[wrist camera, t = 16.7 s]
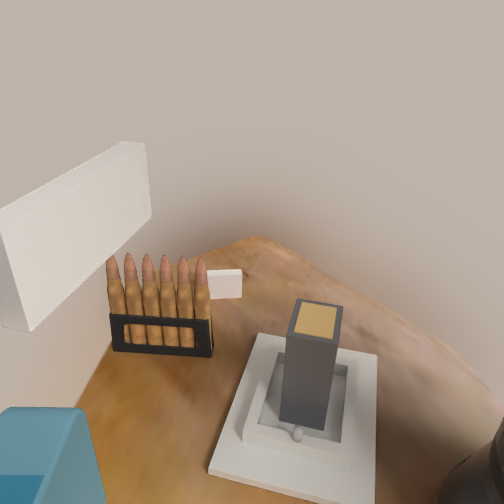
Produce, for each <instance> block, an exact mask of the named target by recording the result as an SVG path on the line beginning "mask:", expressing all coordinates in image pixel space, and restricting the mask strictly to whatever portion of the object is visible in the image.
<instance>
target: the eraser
mask: <svg viewBox="0 0 504 504" xmlns="http://www.w3.org/2000/svg"><path fill="white" fill-rule="evenodd" d="M207 281H208V288H209V292H210V299H223V298H242V271H241V269H233V270H207Z"/></svg>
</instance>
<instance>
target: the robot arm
mask: <svg viewBox="0 0 504 504" xmlns="http://www.w3.org/2000/svg"><path fill="white" fill-rule="evenodd" d="M151 217H152V211H151V202H150V192H149V181H148V172H147V161H146V150H145V143H142V142H133V141H122V142H120V143H119V144H117V145H115V146H113V147H112V148H110V149H108V150H106V151H104V152H103V153H101V154H99V155H97V156H95V157H93V158H92V159H90V160H88V161H86V162H84V163H83V164H81V165H79V166H77V167H75V168H74V169H72V170H70V171H68V172H67V173H64V174H63V175H61V176H59V177H57V178H55V179H54V180H52V181H50V182H48V183H47V184H45V185H43V186H41V187H40V188H37V189H36V190H34V191H32V192H30V193H29V194H27V195H25V196H23V197H22V198H19V199H18V200H16V201H14V202H12V203H10V204H9V205H7V206H5V207H3V208H2V209H0V318H1V321H2V324H3V327H7V328H12V329H16V330H21V331H25V332H32V331H33V330H34V329H35V328H36V327H37V326H38V325H39V324H40V323H41V322H42V321H43V320H44V319H45V318H46V317H47V316H48V315H50V314H51V313H52V312H53V311H54V310H55V309H56V308H57V307H58V306H59V305H60V304H61V303H62V302H63V301H64V300H65V299H66V298H67V297H68V296H69V295H71V293H72V292H74V291H75V290H76V289H77V288H78V287H79V286H80V285H81V284H82V283H83V282H84V281H85V280H86V279H87V278H88V277H89V276H90V275H91V274H93V273H94V272H95V271H96V270H97V269H98V268H99V267H100V266H101V265H102V264H103V263H104V262H105V261H106V260H107V259H108V258H109V257H110V256H112V255H113V254H114V252H116V251H117V250H118V249H119V248H120V247H121V246H122V245H123V244H124V243H125V242H126V241H127V240H128V239H129V238H130V237H131V236H133V235H134V234H135V233H136V232H137V231H138V230H139V229H140V228H141V227H142V226H143V225H144V224H145V223H146V222H147V221H148V220H149V219H150V218H151ZM433 504H504V417H503V420H502V422H501V424H500V426H499V429H498V431H497V433H496V435H495V437H494V439H493V440H492V441H491V442H490V443H488V444H487V445H486V446H484V447H483V448H482V449H480V450H479V451H478V452H476V453H475V454H474V455H471V456H469V457H467V458H466V459H464V460H462V461H461V462H460V463H458V464H457V465H456V466H454V467H453V468H452V470H451V471H450V472H449V473H448V474H447V476H446V477H445V478H444V480H443V482H442V484H441V486H440V488H439V490H438V493H437V495H436V498H435V500H434V502H433Z"/></svg>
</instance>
